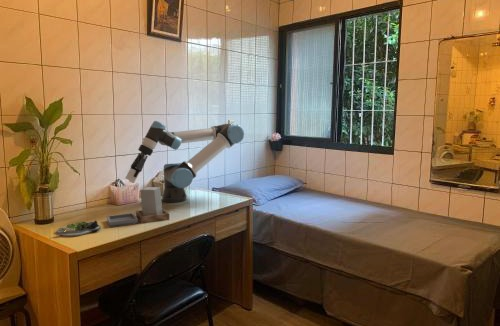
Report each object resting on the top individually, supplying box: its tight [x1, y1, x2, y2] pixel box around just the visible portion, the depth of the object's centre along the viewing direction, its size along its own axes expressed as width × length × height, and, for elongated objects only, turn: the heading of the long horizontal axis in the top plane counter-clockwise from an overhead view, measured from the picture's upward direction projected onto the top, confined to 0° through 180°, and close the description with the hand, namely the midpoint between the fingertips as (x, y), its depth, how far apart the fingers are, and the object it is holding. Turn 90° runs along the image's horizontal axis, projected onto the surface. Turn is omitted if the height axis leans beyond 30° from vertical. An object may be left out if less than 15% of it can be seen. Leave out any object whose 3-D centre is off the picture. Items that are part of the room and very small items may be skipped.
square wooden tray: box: [135, 207, 170, 224], centre depth 192 cm, size 14×14×3 cm
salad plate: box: [55, 219, 101, 237], centre depth 171 cm, size 19×18×5 cm
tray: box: [106, 212, 139, 228], centre depth 185 cm, size 13×13×2 cm
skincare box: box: [139, 186, 163, 216], centre depth 192 cm, size 8×7×16 cm
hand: (129, 180), depth 206 cm, fingers open, 13 cm apart
